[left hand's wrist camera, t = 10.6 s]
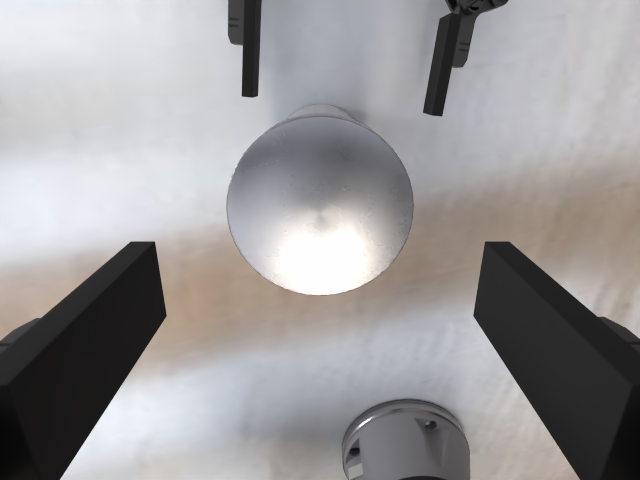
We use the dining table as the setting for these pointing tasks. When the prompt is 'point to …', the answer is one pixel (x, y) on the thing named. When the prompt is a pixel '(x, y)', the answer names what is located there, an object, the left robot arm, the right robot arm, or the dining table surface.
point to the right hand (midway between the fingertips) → (341, 106)
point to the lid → (320, 204)
